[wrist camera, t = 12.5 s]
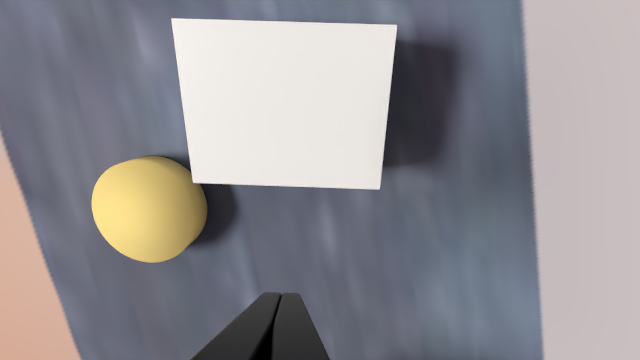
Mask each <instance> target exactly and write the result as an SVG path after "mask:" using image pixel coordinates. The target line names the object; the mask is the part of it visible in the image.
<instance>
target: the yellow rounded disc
mask: <svg viewBox="0 0 640 360" xmlns="http://www.w3.org/2000/svg"><path fill="white" fill-rule="evenodd" d="M92 211H93V216H94V219H95V222H96V224H97V227H98V228H99V230H100V232H101V234H102V235H103V236H104V238H105V239H106V240H107V241H108V242H109V243H110V244H111V245H112V246H113V247H114V248H115V249H116V250H118V251H119V252H121V253H122V254H124V255H126V256H128V257H130V258H132V259H135V260H138V261H143V262H162V261H166V260H169V259H171V258H173V257H175V256H177V255H178V254H180V253H181V252H182V251H183V250H184V249H185V248H186V247H187V246H188V245H189V244H191V243H192V242H193V241H194V240H195V239H196V238H197V237H198V236H199V234H200V233H201V231H202V230H203V228H204V225H205V223H206V218H207V202H206V198H205V194H204V192H203V189H202V187H201V185H200V184H199V183H193V180H192V173H191V172H190V171H189V170H187V169H186V168H185V167H184V166H182V165H181V164H179V163H177V162H175V161H173V160H171V159H168V158H165V157H160V156H144V157H140V158H136V159H133V160H129V161H126V162H123V163H120V164H117V165H114V166H113V167H111V168H109V169H108V170H107V171H105V172H104V173H103V174H102V175H101V177H100V178H99V180H98V181H97V183H96V185H95V187H94V191H93V195H92Z"/></svg>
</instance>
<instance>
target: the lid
mask: <svg viewBox="0 0 640 360" xmlns="http://www.w3.org/2000/svg"><path fill="white" fill-rule="evenodd" d="M171 20H172V27H173V35H174V43H175V50H176V58H177V66H178V73H179V81H180V88H181V96H182V104H183V111H184V119H185V127H186V134H187V142H188V149H189V157H190V165H191V172H192V180H193V183H211V184H239V185H268V186H296V187H324V188H353V189H380V181H381V172H382V162H383V153H384V143H385V134H386V125H387V115H388V106H389V97H390V87H391V78H392V69H393V59H394V50H395V41H396V31H397V25H380V24H345V23H311V22H277V21H243V20H208V19H174V18H171Z"/></svg>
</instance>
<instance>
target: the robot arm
mask: <svg viewBox="0 0 640 360" xmlns="http://www.w3.org/2000/svg"><path fill="white" fill-rule="evenodd" d="M190 360H330V359H329V357H328V354H327V352H326V350H325V348H324V346H323V344H322V341H321V339H320V337H319V335H318V333H317V331H316V328H315V326H314V324H313V322H312V320H311V318H310V316H309V313H308V311H307V309H306V307H305V305H304V303H303V300H302V298H301V296H300V295H299V294H298V293H284V294H282V295H281V294H280V293H270V292H265V293H263V294H262V295H261V296H260V297H259V298H258V299H256V300H255V301H254V302H253V303H252V304H251V305H250V306H249V307H248V308H247V309H245V310H244V311H243V312H242V313H241V314H240V315H239V316H238V317H237V318H236V319H234V320H233V321H232V322H231V323H230V324H229V325H228V326H227V327H226V328H225V329H223V330H222V331H221V332H220V333H219V334H218V335H217V336H216V337H215V338H214V339H212V340H211V341H210V342H209V343H208V344H207V345H206V346H205V347H204V348H203V349H201V350H200V351H199V352H198V353H197V354H196V355H195V356H194V357H193V358H192V359H190Z"/></svg>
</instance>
